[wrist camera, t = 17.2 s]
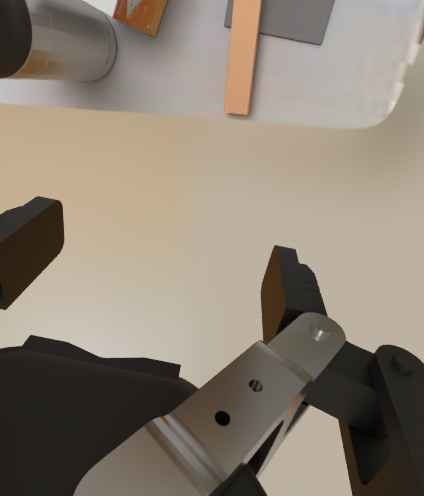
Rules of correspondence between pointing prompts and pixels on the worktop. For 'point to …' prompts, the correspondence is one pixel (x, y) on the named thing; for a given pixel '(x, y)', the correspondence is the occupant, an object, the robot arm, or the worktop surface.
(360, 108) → the worktop surface
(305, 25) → the mat
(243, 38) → the brown block
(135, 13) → the small box
